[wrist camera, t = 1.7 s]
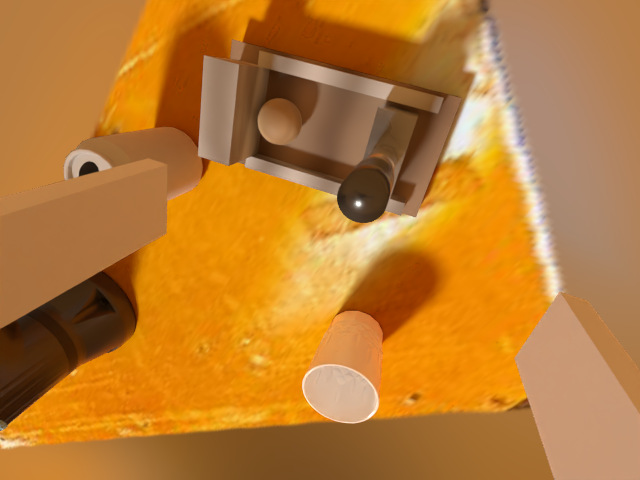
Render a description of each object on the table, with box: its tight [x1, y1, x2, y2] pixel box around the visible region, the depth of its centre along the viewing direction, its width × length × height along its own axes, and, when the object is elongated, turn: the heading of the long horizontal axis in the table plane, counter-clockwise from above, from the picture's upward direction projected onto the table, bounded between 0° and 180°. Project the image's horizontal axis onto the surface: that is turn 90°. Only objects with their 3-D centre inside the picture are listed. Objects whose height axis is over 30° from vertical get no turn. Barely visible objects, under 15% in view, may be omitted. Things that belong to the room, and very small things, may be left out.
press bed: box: [198, 40, 462, 217], centre depth 30 cm, size 21×11×8 cm, turn 77°
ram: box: [337, 104, 418, 223], centre depth 24 cm, size 3×7×16 cm, turn 167°
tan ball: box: [258, 98, 302, 145], centre depth 31 cm, size 4×4×4 cm
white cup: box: [302, 311, 383, 423], centre depth 39 cm, size 8×8×10 cm
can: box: [64, 127, 203, 201], centre depth 35 cm, size 8×8×12 cm
